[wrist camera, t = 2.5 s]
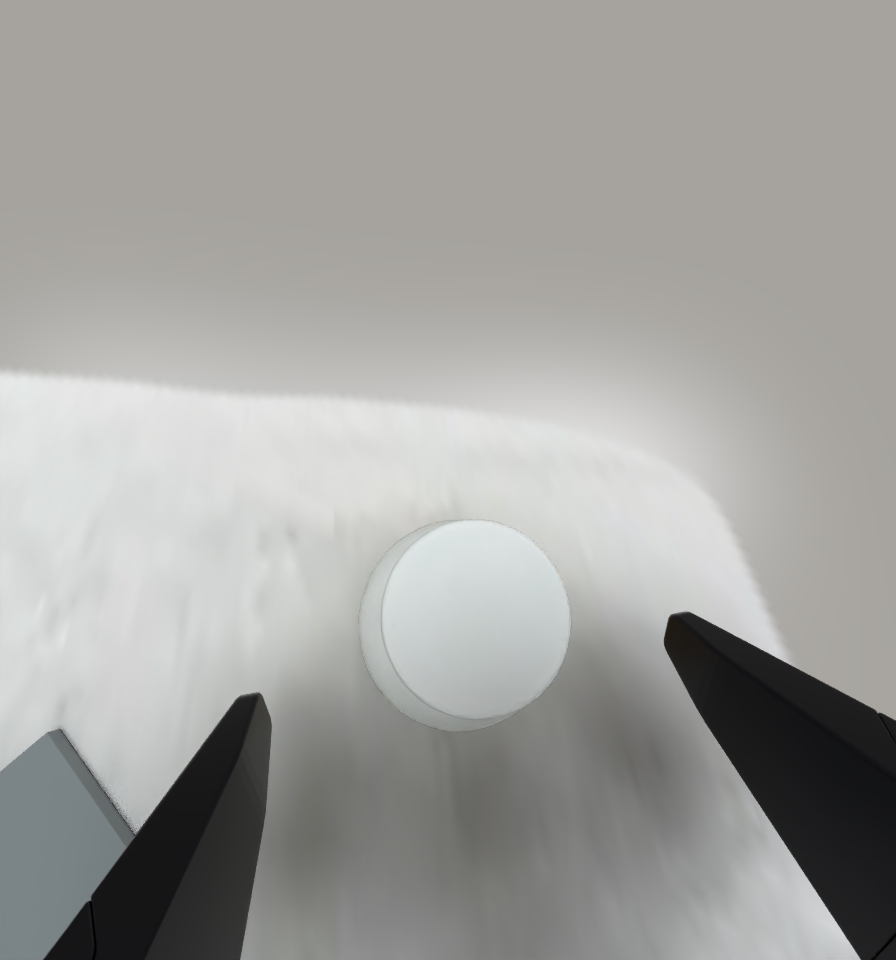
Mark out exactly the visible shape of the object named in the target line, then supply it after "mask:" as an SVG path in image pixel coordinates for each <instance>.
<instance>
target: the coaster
mask: <svg viewBox="0 0 896 960" xmlns="http://www.w3.org/2000/svg"><path fill="white" fill-rule="evenodd" d="M134 837H135V836H134V835H133V833H132V832H131V830H130V829H129V827H128V826H127V825H126V823H125V822H124V820H123V819H122V817H121V816H120V815H119V813H118V812H117V810H116V809H115V807H114V806H113V805H112V803H111V802H110V800H109V799H108V797H107V796H106V795H105V793H104V792H103V790H102V789H101V787H100V786H99V785H98V783H97V782H96V780H95V779H94V777H93V776H92V775H91V773H90V772H89V770H88V769H87V767H86V766H85V765H84V763H83V762H82V760H81V759H80V757H79V756H78V755H77V753H76V752H75V750H74V749H73V747H72V746H71V745H70V743H69V742H68V740H67V739H66V737H65V736H64V735H63V733H62V732H61V730H60V729H59V730H55V731H51V732H47V733H46V734H45V735H44V736H42V737H41V738H40V739H39V740H38V741H36V742H35V743H34V744H33V745H32V746H30V747H29V748H28V749H27V750H26V751H24V752H23V753H22V754H21V755H20V756H18V757H17V758H16V759H15V760H14V761H12V762H11V763H10V764H9V765H8V766H7V767H5V768H4V769H3V770H2V771H1V772H0V960H43V958H44V957H45V956H46V954H47V953H48V952H49V951H50V949H51V948H52V947H53V945H54V944H55V943H56V941H57V940H58V939H59V937H60V936H61V935H62V934H63V932H64V931H65V930H66V928H67V927H68V926H69V924H70V923H71V921H72V920H73V919H74V917H75V916H76V915H77V913H78V912H79V911H80V909H81V908H82V907H83V905H84V904H85V903H86V902H87V901H89V900H90V901H91V895H92V893H93V892H94V891H95V889H96V888H97V887H98V885H99V884H100V883H101V881H102V880H103V879H104V877H105V876H106V874H107V873H108V872H109V870H110V869H111V868H112V866H113V865H114V864H115V862H116V861H117V860H118V858H119V857H120V856H121V854H122V853H123V851H124V850H125V849H126V847H127V846H128V845H129V843H130V842H131V841H132V839H133V838H134Z"/></svg>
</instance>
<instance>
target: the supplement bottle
mask: <svg viewBox="0 0 896 960" xmlns="http://www.w3.org/2000/svg"><path fill="white" fill-rule="evenodd" d="M570 630H571V615H570V606H569V600H568V596H567V593H566V589H565V586H564V583H563V581H562V579H561V577H560V575H559V573H558V571H557V569H556V567H555V566H554V564H553V563H552V561H551V560H550V558H549V557H548V556H547V554H546V553H545V552H544V551H543V550H542V549H541V548H540V547H539V546H538V545H537V544H536V543H535V542H534V541H533V540H531V539H530V538H528V537H527V536H525V535H524V534H522V533H521V532H519V531H517V530H516V529H513V528H511V527H509V526H506V525H503V524H500V523H497V522H493V521H488V520H450V521H442V522H437V523H433V524H430V525H427V526H424V527H422V528H419V529H417V530H415V531H413V532H411V533H410V534H408V535H406V536H405V537H403V538H402V539H401V540H399V541H398V542H397V543H396V544H394V545H393V546H392V547H391V548H390V549H389V550H388V551H387V552H386V553H385V555H384V556H383V557H382V558H381V560H380V561H379V562H378V564H377V565H376V567H375V568H374V570H373V572H372V573H371V575H370V577H369V580H368V582H367V584H366V587H365V590H364V593H363V596H362V600H361V605H360V611H359V640H360V645H361V651H362V654H363V658H364V661H365V664H366V666H367V669H368V671H369V673H370V675H371V677H372V679H373V681H374V682H375V684H376V686H377V687H378V689H379V690H380V691H381V692H382V694H383V695H384V696H385V697H386V698H387V700H388V701H389V702H390V703H391V704H392V705H394V706H395V707H396V708H397V709H398V710H399V711H401V712H402V713H403V714H405V715H406V716H408V717H409V718H411V719H413V720H415V721H417V722H419V723H421V724H424V725H426V726H429V727H433V728H436V729H441V730H446V731H472V730H478V729H482V728H486V727H490V726H492V725H495V724H497V723H500V722H501V721H503V720H505V719H507V718H509V717H510V716H512V715H513V714H515V713H516V712H518V711H519V710H520V709H522V708H523V707H525V706H527V705H528V704H530V703H531V702H532V701H534V700H535V699H536V698H538V697H539V696H540V695H541V694H542V693H543V692H544V691H545V690H546V688H547V687H548V686H549V685H550V684H551V682H552V681H553V680H554V678H555V676H556V675H557V673H558V671H559V670H560V668H561V666H562V663H563V661H564V658H565V655H566V652H567V649H568V643H569V639H570Z"/></svg>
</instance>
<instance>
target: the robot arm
mask: <svg viewBox="0 0 896 960" xmlns="http://www.w3.org/2000/svg"><path fill="white" fill-rule="evenodd" d="M664 646H665V649H666V651H667V653H668V655H669V657H670V659H671V661H672V663H673V665H674V667H675V668H676V670H677V672H678V674H679V676H680V678H681V680H682V682H683V684H684V685H685V687H686V689H687V691H688V693H689V695H690V697H691V699H692V700H693V702H694V704H695V706H696V708H697V709H698V711H699V713H700V715H701V716H702V718H703V720H704V721H705V723H706V724H707V726H708V727H709V729H710V730H711V732H712V733H713V735H714V737H715V738H716V740H717V741H718V743H719V744H720V746H721V747H722V749H723V750H724V752H725V753H726V755H727V756H728V758H729V759H730V761H731V762H732V764H733V765H734V767H735V769H736V770H737V772H738V773H739V775H740V776H741V778H742V779H743V781H744V782H745V784H746V785H747V787H748V788H749V790H750V791H751V793H752V794H753V796H754V797H755V799H756V801H757V802H758V804H759V805H760V807H761V808H762V810H763V811H764V813H765V814H766V816H767V817H768V819H769V820H770V822H771V823H772V825H773V826H774V828H775V829H776V831H777V833H778V834H779V836H780V837H781V839H782V840H783V842H784V843H785V845H786V846H787V848H788V849H789V851H790V852H791V854H792V855H793V857H794V858H795V860H796V861H797V863H798V865H799V866H800V868H801V869H802V871H803V872H804V874H805V875H806V877H807V878H808V880H809V881H810V883H811V884H812V886H813V887H814V889H815V890H816V892H817V893H818V895H819V897H820V898H821V900H822V901H823V903H824V904H825V906H826V907H827V909H828V910H829V912H830V913H831V915H832V916H833V918H834V919H835V921H836V922H837V924H838V925H839V927H840V928H841V930H842V932H843V933H844V935H845V936H846V938H847V939H848V941H849V942H850V944H851V945H852V947H853V948H854V950H855V951H856V953H857V954H858V956H859V957H860V959H861V960H896V720H894V719H892V718H890V717H888V716H886V715H884V714H882V713H877V711H876V710H875V709H873V708H871V707H869V706H867V705H865V704H863V703H861V702H859V701H858V700H856V699H854V698H852V697H850V696H848V695H846V694H844V693H842V692H840V691H839V690H837V689H835V688H833V687H831V686H829V685H827V684H825V683H823V682H821V681H820V680H818V679H816V678H814V677H812V676H810V675H808V674H806V673H805V672H803V671H801V670H799V669H797V668H795V667H793V666H791V665H789V664H787V663H786V662H784V661H782V660H780V659H778V658H776V657H774V656H772V655H770V654H769V653H767V652H765V651H763V650H761V649H759V648H757V647H755V646H753V645H751V644H750V643H748V642H746V641H744V640H742V639H740V638H738V637H736V636H734V635H733V634H731V633H729V632H727V631H725V630H723V629H721V628H719V627H717V626H716V625H714V624H712V623H710V622H708V621H706V620H704V619H702V618H700V617H698V616H697V615H695V614H693V613H690V612H680V613H675V614H671V615H670V617H669V619H668V623H667V627H666V632H665V636H664ZM271 730H272V725H271V718H270V715H269V712H268V710H267V707H266V704H265V701H264V699H263V696H262V694H261V693H257V692H256V693H251V694H246V695H241V696H239V697H238V698H237V699H236V700H235V701H234V703H233V704H232V705H231V707H230V708H229V710H228V711H227V712H226V714H225V715H224V716H223V718H222V719H221V720H220V722H219V723H218V724H217V726H216V727H215V728H214V730H213V731H212V732H211V734H210V735H209V737H208V738H207V739H206V741H205V742H204V743H203V745H202V746H201V747H200V749H199V750H198V751H197V753H196V754H195V755H194V757H193V758H192V760H191V761H190V762H189V764H188V765H187V766H186V768H185V769H184V770H183V772H182V773H181V774H180V776H179V777H178V778H177V780H176V781H175V783H174V784H173V785H172V787H171V788H170V789H169V791H168V792H167V793H166V795H165V796H164V797H163V799H162V800H161V801H160V803H159V804H158V806H157V807H156V808H155V810H154V811H153V812H152V814H151V815H150V816H149V818H148V819H147V820H146V822H145V823H144V824H143V826H142V827H141V828H140V830H139V831H138V833H137V834H136V835H135V837H134V838H133V839H132V841H131V842H130V843H129V845H128V846H127V847H126V849H125V850H124V851H123V853H122V854H121V856H120V857H119V858H118V860H117V861H116V862H115V864H114V865H113V866H112V868H111V869H110V870H109V872H108V873H107V874H106V876H105V877H104V879H103V880H102V881H101V883H100V884H99V885H98V887H97V888H96V889H95V891H94V892H93V893H92V895H91V901H90V900H89V901H87V902H86V903H85V904H84V905H83V907H82V908H81V909H80V911H79V912H78V913H77V915H76V916H75V917H74V919H73V920H72V921H71V923H70V924H69V926H68V927H67V928H66V930H65V931H64V932H63V934H62V935H61V936H60V937H59V939H58V940H57V941H56V943H55V944H54V945H53V947H52V948H51V949H50V951H49V952H48V953H47V954H46V956H45V957H44V958H43V960H240V958H241V952H242V946H243V940H244V935H245V929H246V923H247V918H248V912H249V906H250V900H251V895H252V889H253V883H254V877H255V872H256V866H257V860H258V855H259V849H260V843H261V837H262V832H263V826H264V819H265V812H266V801H267V788H268V773H269V759H270V745H271Z"/></svg>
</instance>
